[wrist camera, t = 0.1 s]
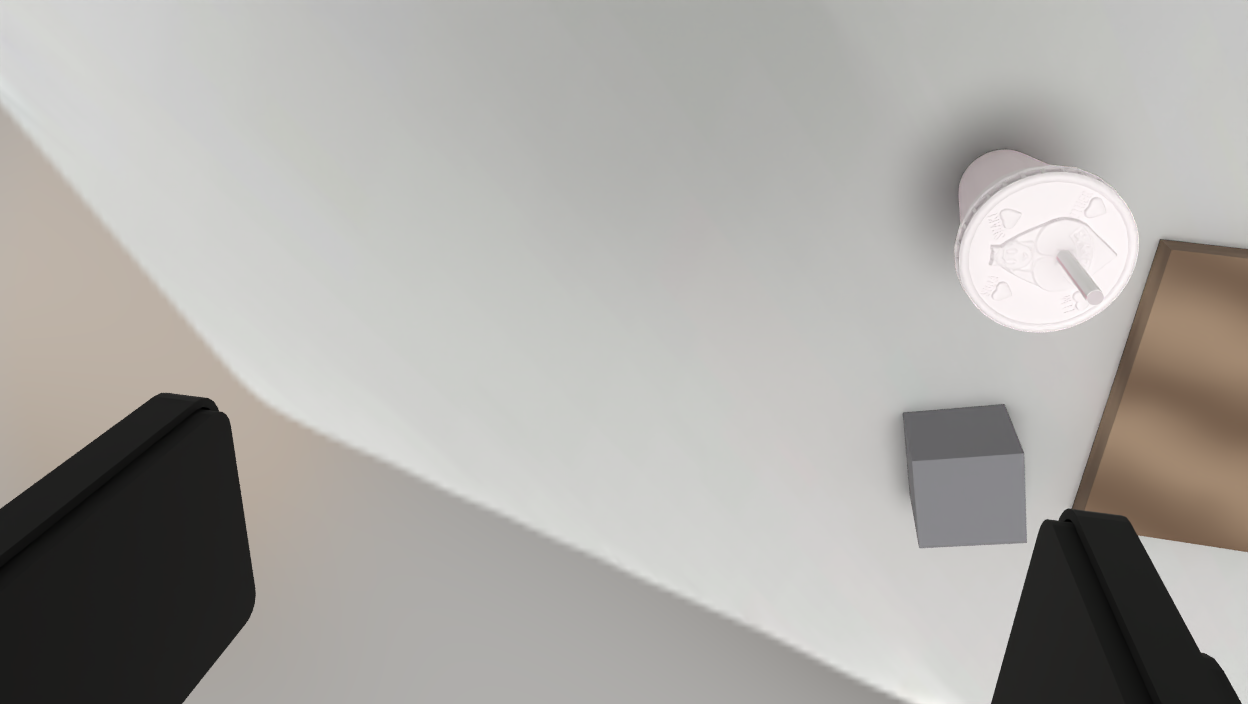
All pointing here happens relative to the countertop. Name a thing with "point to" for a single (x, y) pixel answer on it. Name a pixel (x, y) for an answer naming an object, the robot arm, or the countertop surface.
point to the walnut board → (1180, 405)
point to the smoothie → (1041, 242)
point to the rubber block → (965, 477)
